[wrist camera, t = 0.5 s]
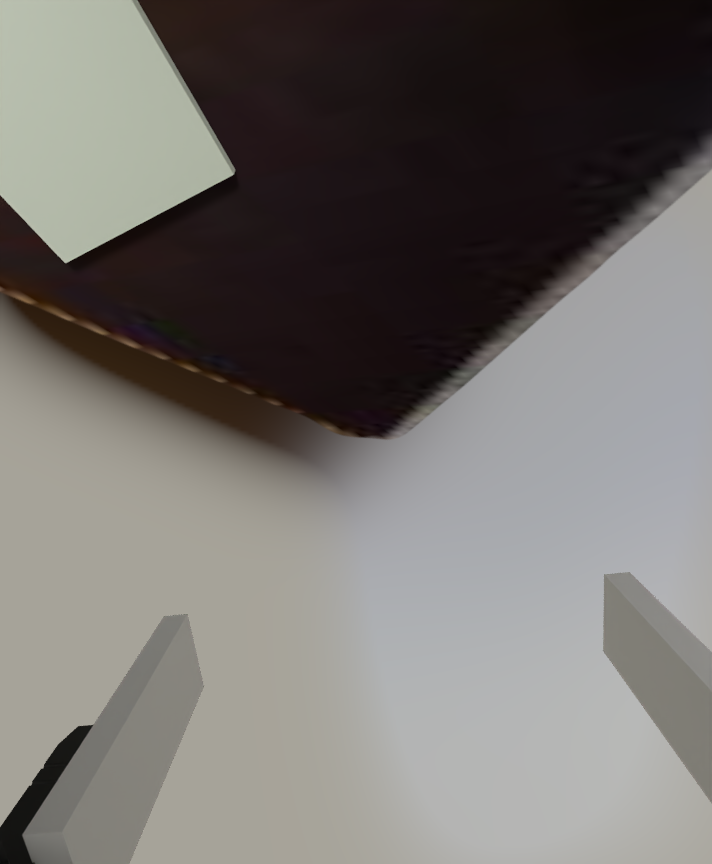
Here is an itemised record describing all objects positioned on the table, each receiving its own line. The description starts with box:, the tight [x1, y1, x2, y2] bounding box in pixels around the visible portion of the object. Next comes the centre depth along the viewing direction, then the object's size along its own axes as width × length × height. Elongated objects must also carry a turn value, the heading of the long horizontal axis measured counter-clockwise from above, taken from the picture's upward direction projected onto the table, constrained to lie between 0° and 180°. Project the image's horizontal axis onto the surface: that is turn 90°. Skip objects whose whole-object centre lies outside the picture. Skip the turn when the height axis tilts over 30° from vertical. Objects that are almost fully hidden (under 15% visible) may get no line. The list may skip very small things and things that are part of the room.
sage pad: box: [0, 0, 235, 263], centre depth 32 cm, size 16×16×1 cm
